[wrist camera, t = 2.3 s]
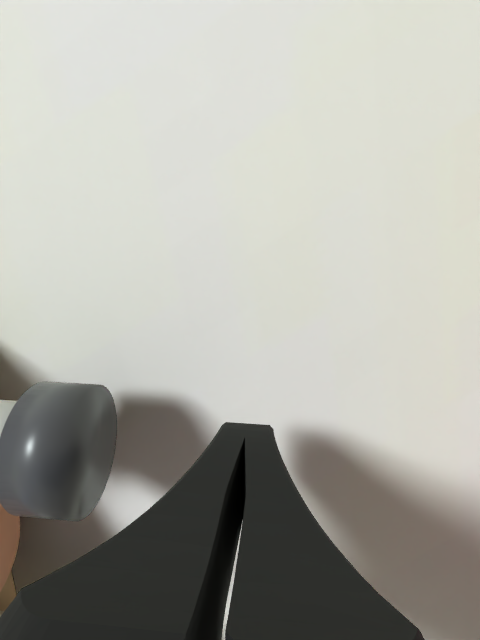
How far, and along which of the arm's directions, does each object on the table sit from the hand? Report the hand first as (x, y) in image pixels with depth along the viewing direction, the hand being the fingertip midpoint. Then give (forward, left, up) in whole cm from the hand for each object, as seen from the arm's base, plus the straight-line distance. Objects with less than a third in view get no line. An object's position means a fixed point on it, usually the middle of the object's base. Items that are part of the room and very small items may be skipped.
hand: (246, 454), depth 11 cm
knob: (-4, +6, -1) cm, 8 cm away
